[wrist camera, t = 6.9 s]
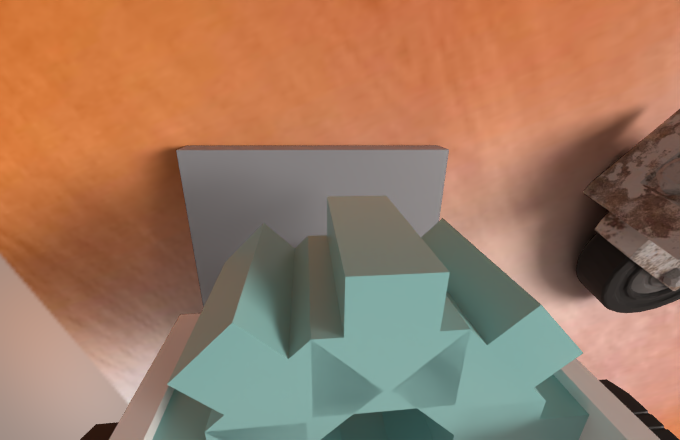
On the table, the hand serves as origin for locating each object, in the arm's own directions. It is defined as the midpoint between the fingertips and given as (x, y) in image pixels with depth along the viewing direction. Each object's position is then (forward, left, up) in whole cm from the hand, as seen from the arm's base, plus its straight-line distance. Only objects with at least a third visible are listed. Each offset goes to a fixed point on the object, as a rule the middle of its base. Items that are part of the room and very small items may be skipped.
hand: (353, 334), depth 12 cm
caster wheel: (-1, +21, -9) cm, 23 cm away
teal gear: (0, 0, 0) cm, 0 cm away
